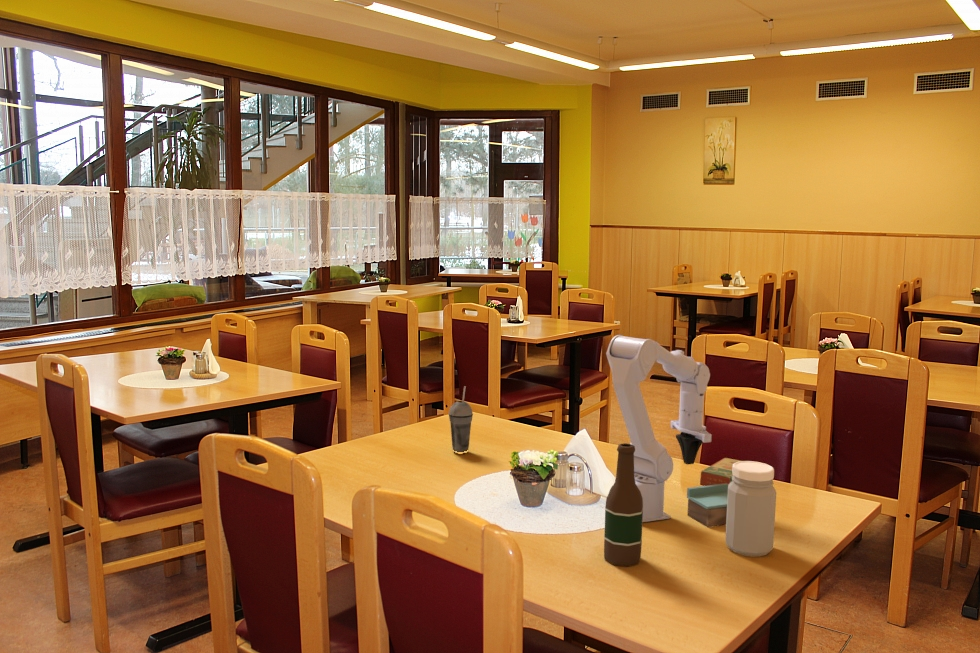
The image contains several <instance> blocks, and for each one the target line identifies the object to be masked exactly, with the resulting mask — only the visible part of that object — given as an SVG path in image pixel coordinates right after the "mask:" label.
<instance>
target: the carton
mask: <svg viewBox="0 0 980 653" xmlns="http://www.w3.org/2000/svg"><path fill="white" fill-rule="evenodd" d="M740 461H741V460H739V459H734V458H733V459H732V458H728V457H724V458H722V459H720V460H718V461H716V462H715V463H713V464H711V465H710V466H708V467H706V468H704V469H703V470H701V471H700V480H699V485H700V486H704V485H705V486H708V485H716V484H724V483H727V484H730V482H731V481H732V476H734V475H733V473H732V466H733V464H734V463H736V462H740Z"/></svg>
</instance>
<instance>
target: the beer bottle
mask: <svg viewBox="0 0 980 653" xmlns="http://www.w3.org/2000/svg"><path fill="white" fill-rule="evenodd" d="M616 451H617V452H618V453H617V462H616V474H615V479H614V484H613V485H612V486H611V487H610V489H609V491H608V493H607V496H606V498H605V506H604V507H605V509H604V510H605V511H604V536H603V537H604V542H603V559H604V560H605V561H606V562H607V563H609V564H611V565H612V566H617V567H624V568H628V567H633V566H638V565H639V564H640V561H641V555H642V544H643V542H642V540H643V522H642V519H643V498H642V495H641V492H640V490H639V488H638V487H637V485H636V484H635V477H634V452H635V446H634V445H631V444H630V443H628V442H627V443H626V442H625V443H619V444H618V446H617V449H616Z"/></svg>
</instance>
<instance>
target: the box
mask: <svg viewBox="0 0 980 653" xmlns="http://www.w3.org/2000/svg"><path fill="white" fill-rule="evenodd" d="M687 516H688V517H689V518H692V519H693V520H695V521H696V522H698V523H699V524H701V525H703V526H704V527H707V528H714V527H720V526H726V518H727V507H721V508H713V509H706V508H704V507H702V506H701V505H699V504H697V503H695V502H693V501H692V500H690V499H688V498H687Z"/></svg>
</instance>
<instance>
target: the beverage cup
mask: <svg viewBox="0 0 980 653" xmlns="http://www.w3.org/2000/svg"><path fill="white" fill-rule="evenodd" d="M466 387H467V386H465V385H464V386H463V392H462V400H457V401H455V402H453V404H452V405H451V406H450V407H449V411H448V419H449V423H450V434H451V445H452V447H451V448H452V451H453V450H454V451H457V452H464V451H467V450H468V451H469V448H470V440H471V439H470V437H471V430H472V429H471V427H472V420H473V415H474V413H473V408H472V407H471V405H470V404H469V403H468V402H466V401H465V394H466Z"/></svg>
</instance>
